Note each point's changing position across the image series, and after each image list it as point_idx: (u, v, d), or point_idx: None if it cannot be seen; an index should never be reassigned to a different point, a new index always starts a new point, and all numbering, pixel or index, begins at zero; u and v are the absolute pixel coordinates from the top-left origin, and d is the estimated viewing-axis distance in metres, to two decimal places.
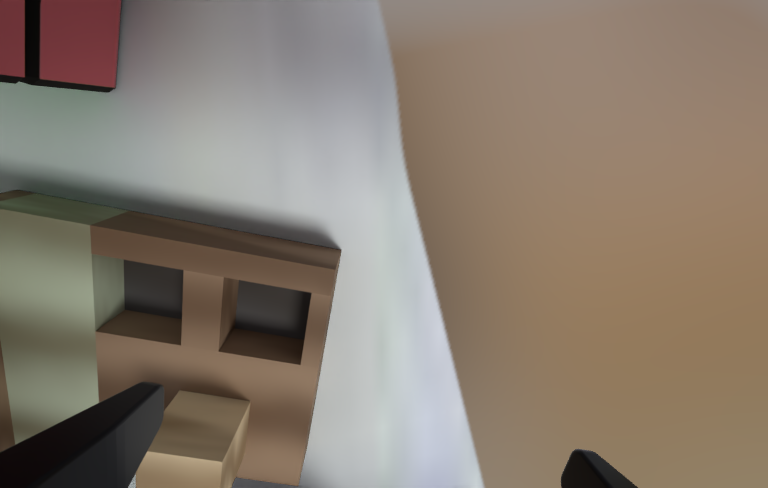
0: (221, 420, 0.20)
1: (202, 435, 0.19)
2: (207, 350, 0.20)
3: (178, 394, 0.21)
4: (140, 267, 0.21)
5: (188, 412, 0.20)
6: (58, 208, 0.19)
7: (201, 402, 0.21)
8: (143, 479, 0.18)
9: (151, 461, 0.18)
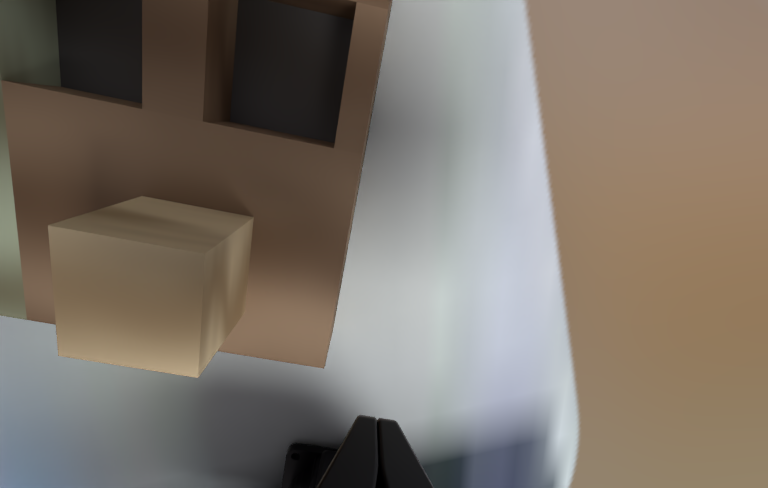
0: (206, 223, 0.12)
1: (173, 230, 0.11)
2: (185, 119, 0.13)
3: (139, 198, 0.13)
4: (82, 6, 0.14)
5: (152, 211, 0.12)
6: None
7: (175, 207, 0.13)
8: (66, 291, 0.10)
9: (78, 251, 0.10)
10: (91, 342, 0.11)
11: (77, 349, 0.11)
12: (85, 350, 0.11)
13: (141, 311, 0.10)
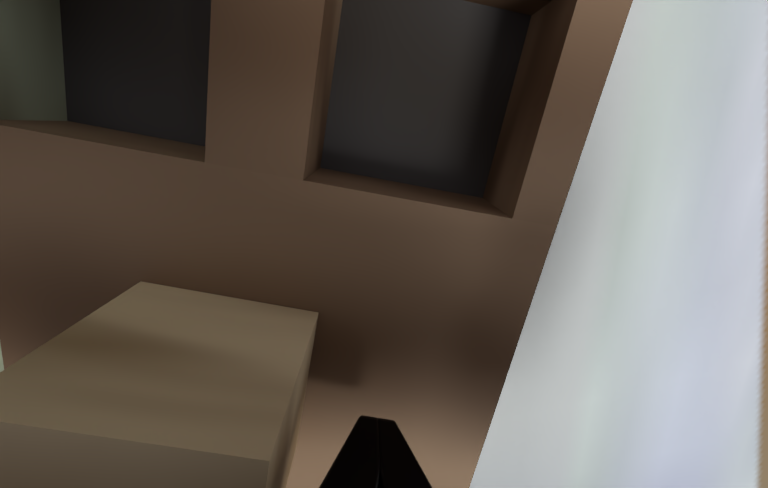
0: (252, 345, 0.07)
1: (197, 378, 0.06)
2: (274, 177, 0.08)
3: (136, 288, 0.08)
4: None
5: (158, 323, 0.07)
6: None
7: (196, 305, 0.08)
8: None
9: (5, 457, 0.05)
10: None
11: None
12: None
13: None
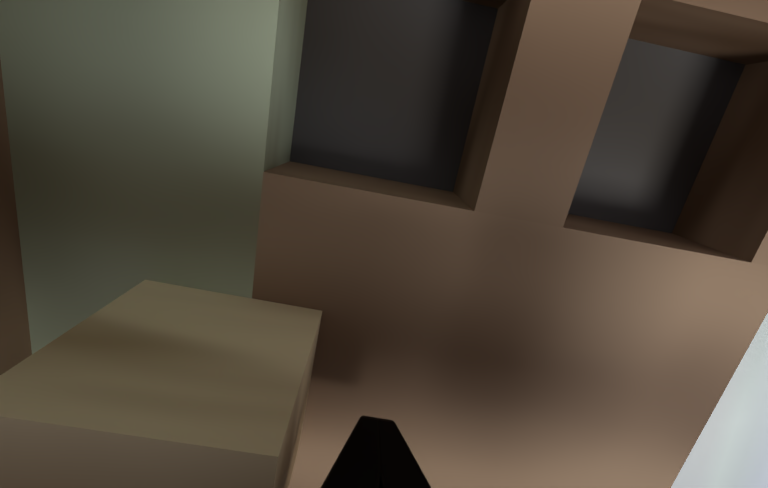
0: (258, 342, 0.07)
1: (204, 376, 0.06)
2: (536, 224, 0.08)
3: (141, 286, 0.08)
4: (341, 48, 0.09)
5: (164, 320, 0.07)
6: None
7: (201, 303, 0.08)
8: None
9: (16, 453, 0.05)
10: None
11: None
12: None
13: None
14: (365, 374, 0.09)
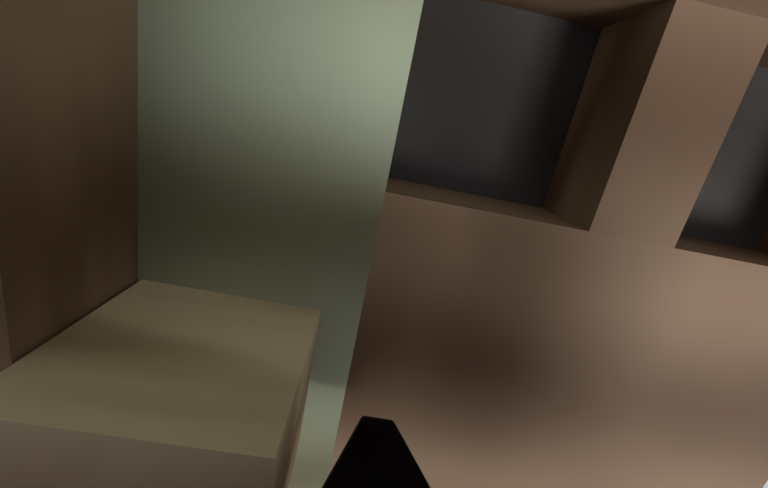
0: (256, 342, 0.07)
1: (201, 376, 0.06)
2: (648, 244, 0.08)
3: (137, 286, 0.08)
4: (444, 65, 0.09)
5: (161, 321, 0.07)
6: None
7: (197, 303, 0.08)
8: None
9: (10, 456, 0.05)
10: None
11: None
12: None
13: None
14: (464, 390, 0.09)
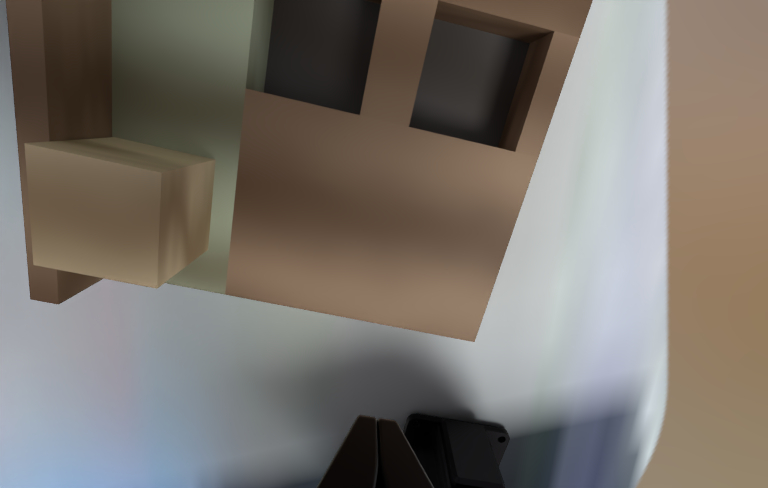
0: (169, 158, 0.14)
1: (136, 157, 0.13)
2: (394, 124, 0.15)
3: (111, 138, 0.15)
4: (294, 24, 0.16)
5: (121, 146, 0.14)
6: None
7: (143, 146, 0.14)
8: (40, 204, 0.12)
9: (50, 167, 0.11)
10: (62, 253, 0.12)
11: (50, 259, 0.12)
12: (57, 260, 0.12)
13: (106, 225, 0.12)
14: (302, 214, 0.16)
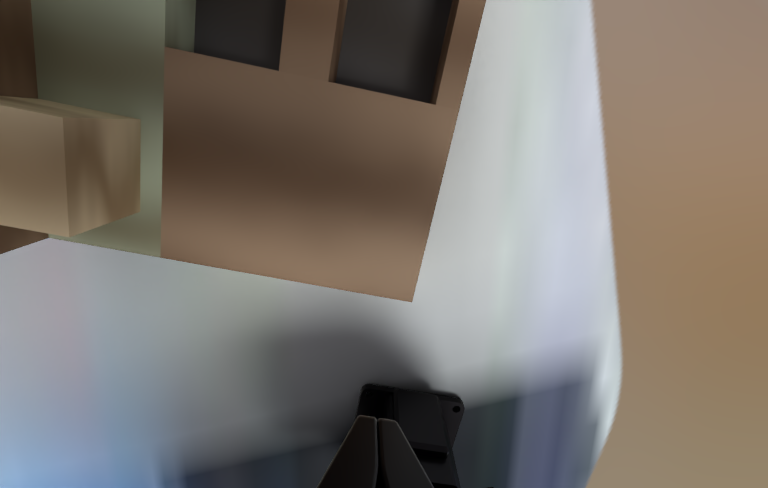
0: (86, 113, 0.14)
1: (47, 109, 0.13)
2: (313, 79, 0.15)
3: (36, 99, 0.15)
4: None
5: (40, 103, 0.14)
6: None
7: (66, 106, 0.15)
8: None
9: None
10: None
11: None
12: None
13: (14, 172, 0.12)
14: (230, 173, 0.16)
